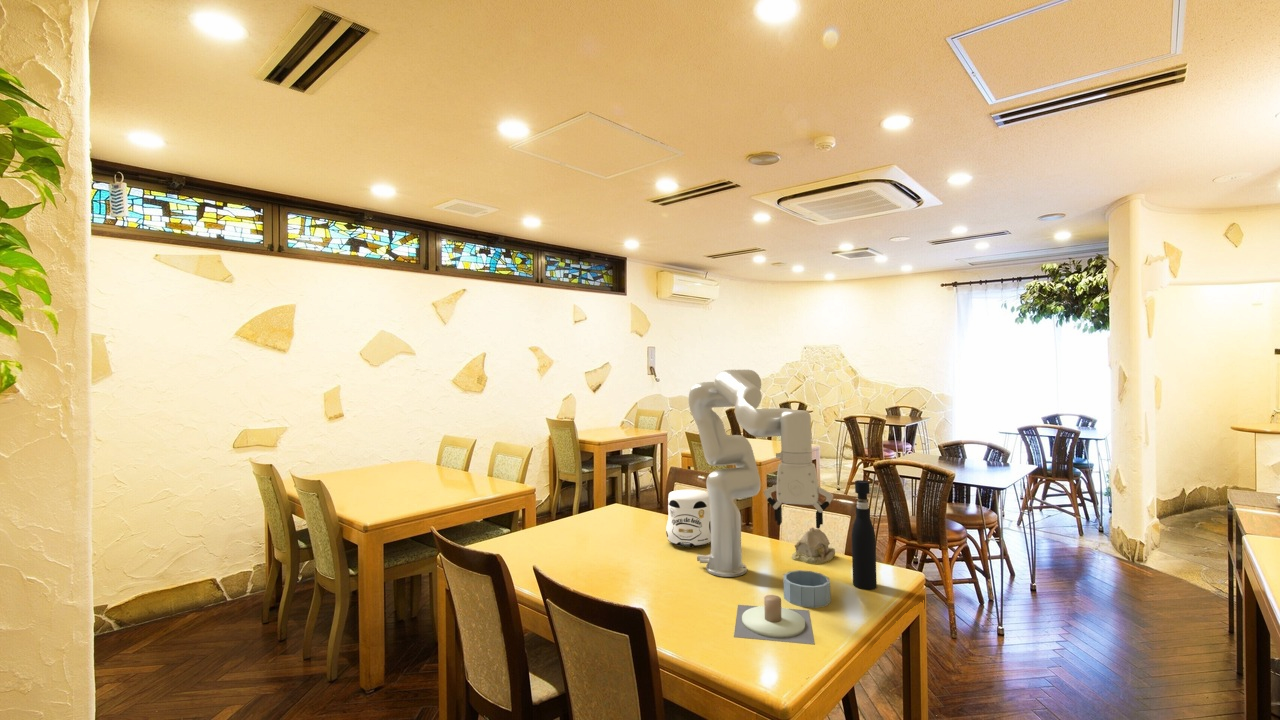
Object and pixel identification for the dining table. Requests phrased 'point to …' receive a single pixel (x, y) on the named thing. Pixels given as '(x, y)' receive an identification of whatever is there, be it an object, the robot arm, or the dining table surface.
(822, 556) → the ceramic model
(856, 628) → the dining table surface
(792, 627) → the lid
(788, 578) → the bowl
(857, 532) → the black water bottle
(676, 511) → the milk container
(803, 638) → the mat
